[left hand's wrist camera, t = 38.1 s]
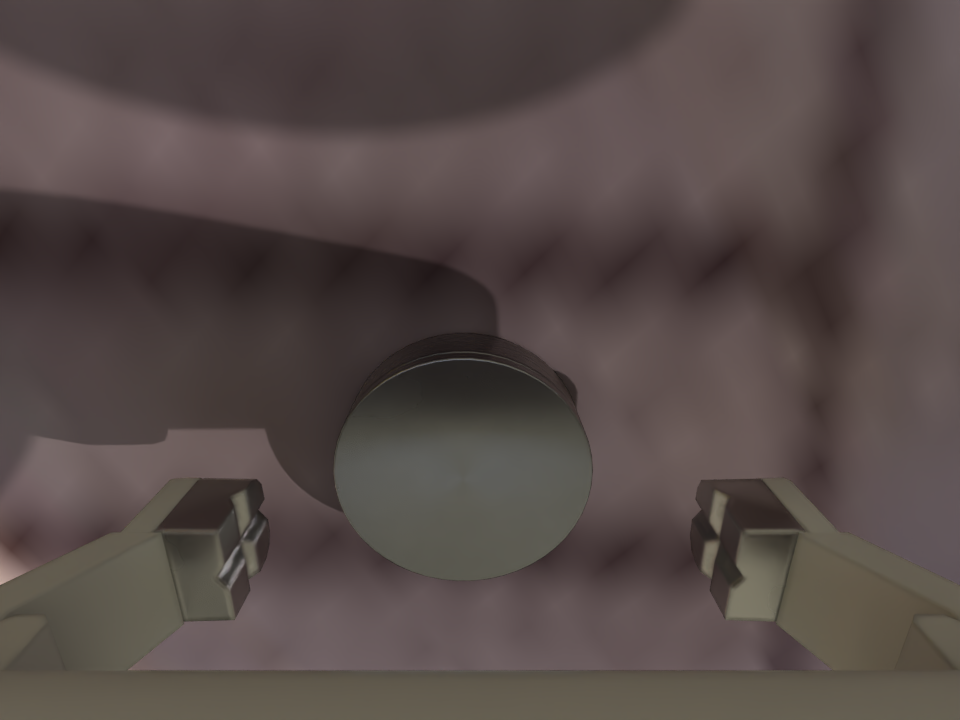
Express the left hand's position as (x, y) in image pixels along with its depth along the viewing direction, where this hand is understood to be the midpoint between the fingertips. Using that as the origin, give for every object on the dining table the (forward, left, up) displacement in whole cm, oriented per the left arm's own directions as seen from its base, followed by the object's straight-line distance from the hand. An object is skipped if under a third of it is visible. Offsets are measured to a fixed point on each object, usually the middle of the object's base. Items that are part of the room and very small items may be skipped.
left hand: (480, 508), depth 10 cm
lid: (0, 0, -1) cm, 1 cm away
